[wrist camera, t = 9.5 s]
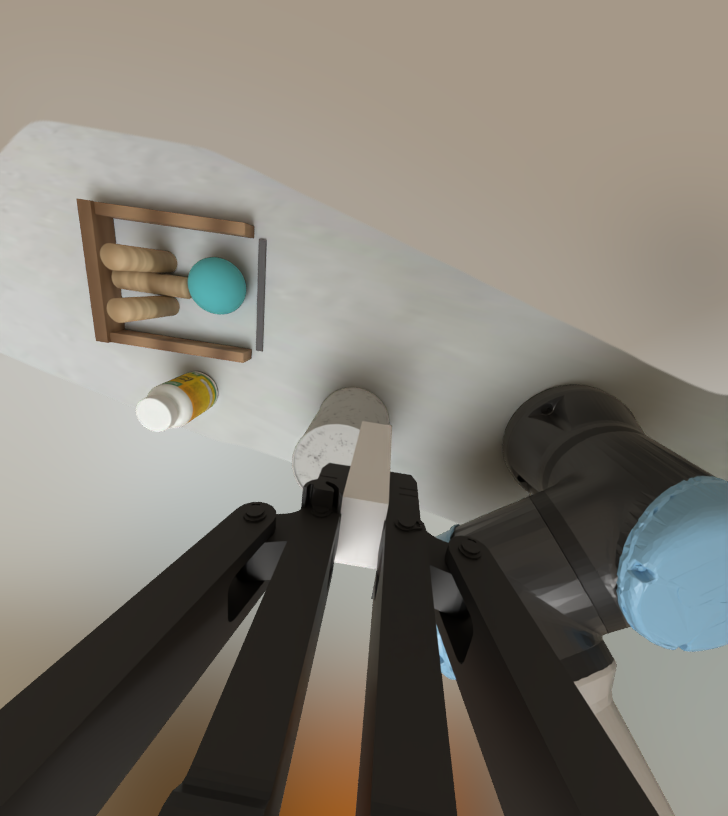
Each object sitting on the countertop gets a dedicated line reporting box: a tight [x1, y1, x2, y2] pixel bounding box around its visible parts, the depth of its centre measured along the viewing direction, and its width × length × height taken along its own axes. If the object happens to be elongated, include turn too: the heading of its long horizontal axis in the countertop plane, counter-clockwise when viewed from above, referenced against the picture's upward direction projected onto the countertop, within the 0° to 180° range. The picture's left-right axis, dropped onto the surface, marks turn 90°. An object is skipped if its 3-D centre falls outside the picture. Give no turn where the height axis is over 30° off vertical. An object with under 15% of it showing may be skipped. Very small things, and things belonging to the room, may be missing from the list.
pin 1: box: [100, 243, 177, 273], centre depth 37 cm, size 2×2×8 cm
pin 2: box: [107, 296, 179, 323], centre depth 39 cm, size 2×2×8 cm
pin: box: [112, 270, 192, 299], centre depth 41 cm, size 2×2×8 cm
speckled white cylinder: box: [292, 387, 389, 490], centre depth 40 cm, size 10×10×12 cm
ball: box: [188, 257, 246, 314], centre depth 38 cm, size 6×6×6 cm
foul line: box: [256, 239, 266, 351], centre depth 41 cm, size 1×13×1 cm, turn 172°
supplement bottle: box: [136, 371, 218, 432], centre depth 42 cm, size 5×5×10 cm
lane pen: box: [77, 199, 254, 363], centre depth 40 cm, size 18×15×3 cm
